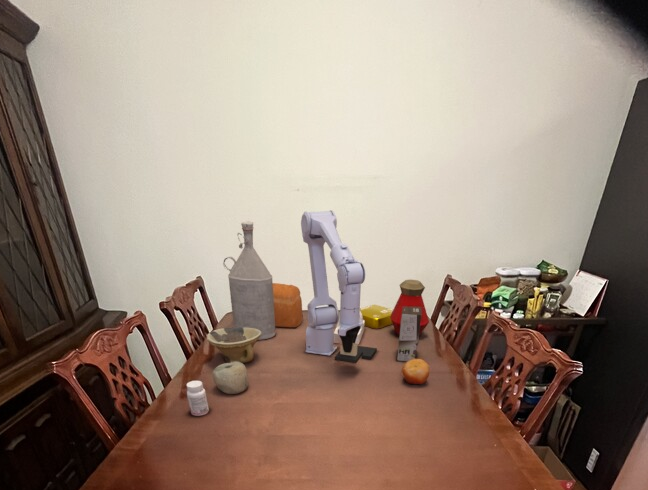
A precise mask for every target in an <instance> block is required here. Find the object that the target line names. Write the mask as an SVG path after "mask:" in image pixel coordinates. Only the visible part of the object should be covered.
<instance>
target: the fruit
mask: <svg viewBox="0 0 648 490" xmlns="http://www.w3.org/2000/svg"><path fill="white" fill-rule="evenodd" d="M401 373H402V376H403V378H404V380H405V381H406V383H407V384H410V385H423V384H425V383H426V382H427V380H428V378H429V376H430V375H429V374H430V366H429V363H427V362H426V361H425V360H424V359H423V358H416V359H412V360H409V361H405V362H404V364H403V366H402V368H401Z"/></svg>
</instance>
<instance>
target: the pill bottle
mask: <svg viewBox="0 0 648 490" xmlns="http://www.w3.org/2000/svg"><path fill="white" fill-rule="evenodd" d="M186 396H187V402H188V406H189V410H190V413H191V415H192V416H196V417H200V416H205V415H206V414H208V413H209V411H210V408H209V403H208V398H207V392H206V389H205V387H204V384H203V381H201V380H191V381H188V382H187V383H186Z"/></svg>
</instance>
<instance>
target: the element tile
mask: <svg viewBox="0 0 648 490" xmlns="http://www.w3.org/2000/svg"><path fill="white" fill-rule="evenodd" d="M360 312H361V313H362V316H363V320H365V325H364V327H368V328H370V329H375V330H379V329H382V328H385V327H388V326H391V325H393V323H392V321H391V318H390V316H391V314H392V312H393V309H392V308H388V307H386V306H381V305H379V304H371V305H367V306H364V307H361V308H360Z"/></svg>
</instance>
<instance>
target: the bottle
mask: <svg viewBox="0 0 648 490" xmlns="http://www.w3.org/2000/svg"><path fill="white" fill-rule="evenodd" d="M399 289H400V291H401V293H400V295H399V296H398V299H397V301H396V302H395V305H394V307H393V309H392V310H393V312H392V314H391V316H390V318H391V321H392V323H393V324H392V326H393V328H394V331H395V334H396V335H397V336H399V335H400V325H401V315H402V308H403V307H421V309H422V310H421V311H422V315H421V323H420V331H419V337H420V336H421V335H422V333H423V331H424V330H425V329H426V327H427V326H428V324H429V323H430V320H429V317H428V313H427V309H426V306H425V303H424V299H423V296H422V294H423V293H424V291H425V289H426V286H425V285H424V284H423V283H422V282H421V281H420V280H418V279H405V280H403V281H402V282H401V283H400V284H399Z"/></svg>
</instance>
